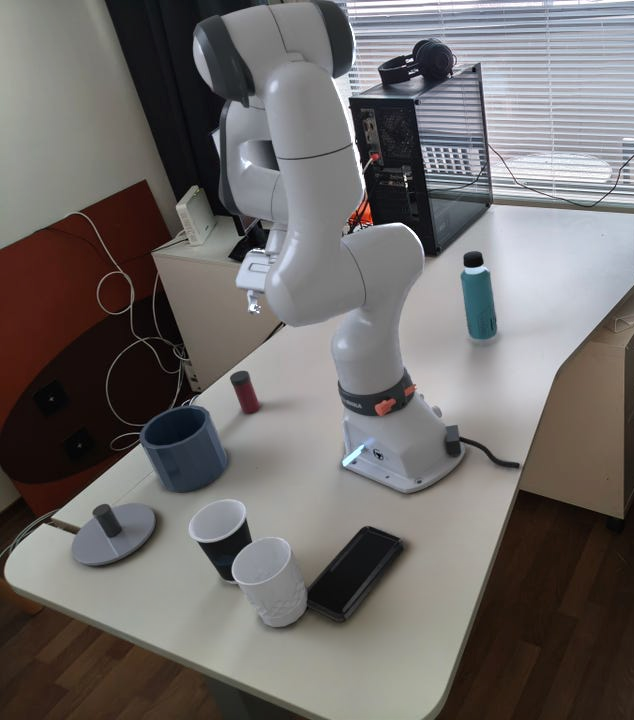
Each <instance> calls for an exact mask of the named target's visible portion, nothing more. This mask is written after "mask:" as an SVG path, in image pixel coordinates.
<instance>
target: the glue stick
mask: <svg viewBox="0 0 634 720" xmlns="http://www.w3.org/2000/svg"><path fill="white" fill-rule="evenodd" d="M229 381H230V383H231V385H232V387H233V390H234V392H235V395H236V398H237V400H238V402H239V405H240V408H241V411H242V413H243V414H245V415H249V414H253V413H256V412H257V411H259V410H260V408H261V405H260V402H259V400H258V396H257V394H256V390H255V389H254V388H255V387H254V385H253V383H252V380H251V376H250V374H249V371H247V370H238V371H236V372H234V373H231V375H230V377H229Z"/></svg>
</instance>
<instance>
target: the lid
mask: <svg viewBox="0 0 634 720" xmlns="http://www.w3.org/2000/svg"><path fill="white" fill-rule="evenodd" d="M91 514H92V516H93V517H92V518H91V519H89V520H88V521H87V522H86V523H85V524H84V525H83V526H82V527H81V528H80V529H79V531H78V532H77V533H76V534H75V536H74V539H73V541H72V544H71V553H72V555H73V557H74V559H76V561H77V562H79V563H80V564H83V565H86V566H103V565H108V564H111V563H114V562H117V561H119V560H121V559H123V558H126V557H127V556H129V555H131V554H132V553H134V552H135V551H137V550H138V549H140V547H141V546H143V544H145V542H147V540H148V539H149V538H150V537H151V535H152V534H153V531H154V530H155V526H156V522H157V521H156V519H157V518H156V515H155V512H154V511H153V509H152V508H150V507H149V506H147V505H146V504H143V503H137V502H136V503H135V502H134V503H133V502H131V503H124V504H119V505H117V506H113V507H111V505H110V504H109V503H102V504H98V505H97V506H96V507H94V508H93V510H92V513H91Z"/></svg>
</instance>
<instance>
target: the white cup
mask: <svg viewBox="0 0 634 720" xmlns="http://www.w3.org/2000/svg"><path fill="white" fill-rule="evenodd" d="M232 575H233V577H234V579H235V580H236V582H237V584H236V585H237V586H238V587H239V588H240V590H241V592H242V593H243V595H244V596H245V598H246V599H247V601H248V602H249V604H250V605H251V606H252V608H253V609H254V611H255V612H256V613H257V614H258V615H259V617H260V618H261V620H262V622H263V623H264V624H265V625H267V626H269V627H272V628H282V627H287V626H290V625H291V624H293V623H294V622H296V621H297V620H299V618H300V617H302V616H303V615H304V613H305V612H306V609H307V607H308V606H307V603H306V601H307V591H306V589H307V588H306V585H305V582H304V579H303V576H302V573H301V570H300V568H299V565H298V562H297V559H296V557H295V554H294V552H293V549H292V547H291V545H290V543H289V542H288V541H287V540H286V539H284V538H283V537H279V536H266V537H262V538H258V539H256V540H254V541H252V543H251V544H249V545H248V546H246V547H245V548H244V549H243V550H242V551H241V552H240V553H239V554H238V555H237V557H236V558H235V560H234V562H233V565H232Z"/></svg>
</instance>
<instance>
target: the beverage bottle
mask: <svg viewBox="0 0 634 720" xmlns="http://www.w3.org/2000/svg"><path fill="white" fill-rule="evenodd" d="M484 260H485V259H484V257H483V253H482V252H481V251H478V250H475V251H474V250H471V251H468V252H466V253H464V254H463V263H462V264H463V267H464V270H463V271H462V272H461V273H460V281H461V282H460V283H461V286H462V287H461V290H462V296H463V304H464V312H465V319H466V320H465V322H466V327H467V328H466V329H467V330H468V331H467V332H468V334H469V336H470V337H471V338H472V339H475V340H479V341H481V340H489V339H491V338H493V337H494V336H496V335H497V332H498V321H497V314H496V306H495V304H496V302H495V300H494V299H495V298H494V291H493V285H492V279H491V276H492V275H491V271H490V270H489V269H488V268H487V267H486V266H484V262H485V261H484Z"/></svg>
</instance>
